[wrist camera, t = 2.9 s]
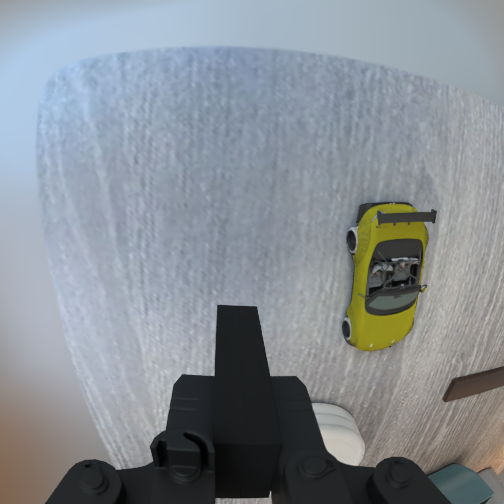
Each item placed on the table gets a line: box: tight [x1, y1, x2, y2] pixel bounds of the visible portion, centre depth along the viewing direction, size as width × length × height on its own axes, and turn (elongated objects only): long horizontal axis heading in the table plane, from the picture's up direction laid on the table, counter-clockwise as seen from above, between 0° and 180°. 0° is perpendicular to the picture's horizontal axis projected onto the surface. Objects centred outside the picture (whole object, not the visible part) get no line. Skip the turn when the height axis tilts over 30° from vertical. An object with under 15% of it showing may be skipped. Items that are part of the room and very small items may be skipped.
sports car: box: [342, 202, 437, 351], centre depth 18 cm, size 5×10×3 cm, turn 3°
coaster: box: [270, 403, 365, 495], centre depth 22 cm, size 10×10×4 cm
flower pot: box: [428, 464, 495, 504], centre depth 26 cm, size 9×9×9 cm
